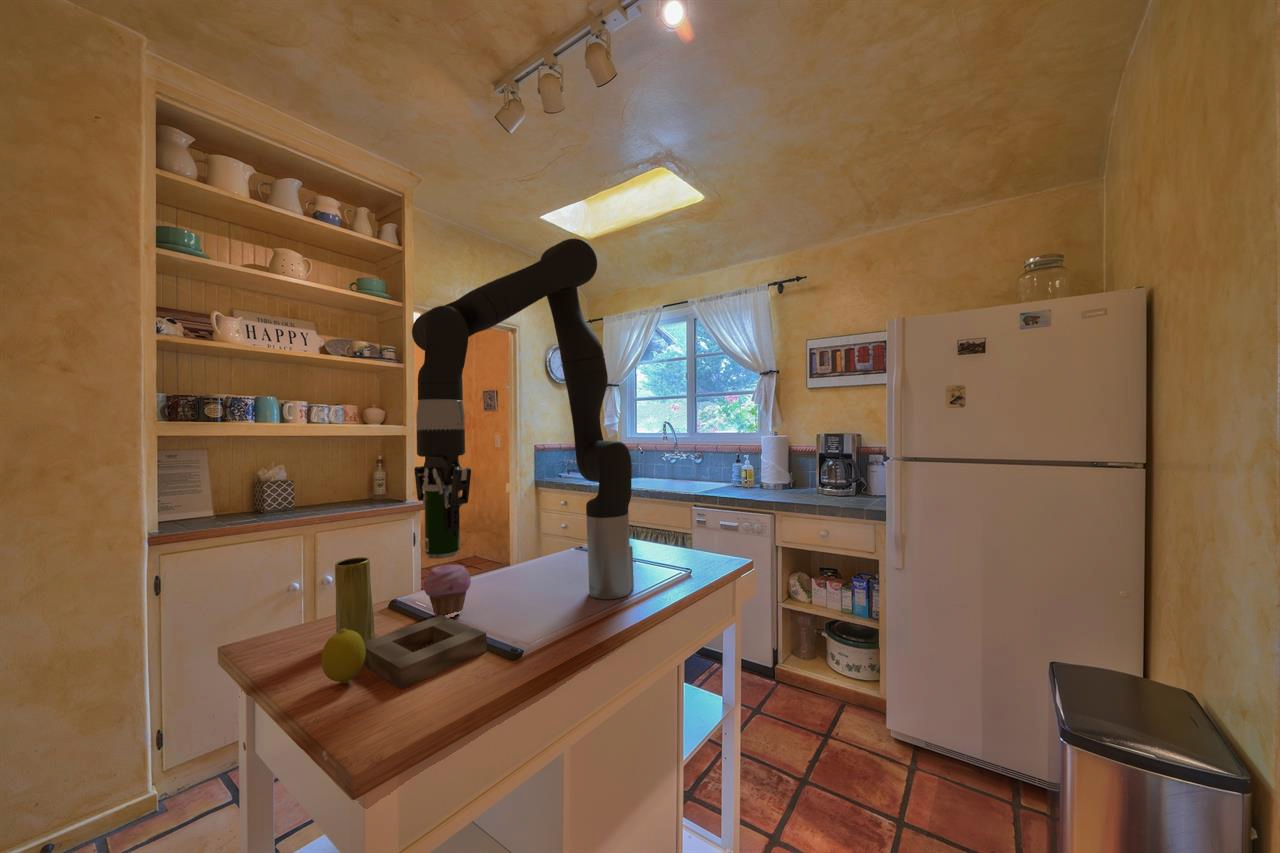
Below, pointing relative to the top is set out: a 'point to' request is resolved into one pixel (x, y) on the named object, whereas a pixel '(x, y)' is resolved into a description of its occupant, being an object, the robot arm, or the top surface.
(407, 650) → the can holder block
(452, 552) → the beer can
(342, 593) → the vase
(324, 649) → the lemon
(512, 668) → the top surface
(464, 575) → the cupcake
